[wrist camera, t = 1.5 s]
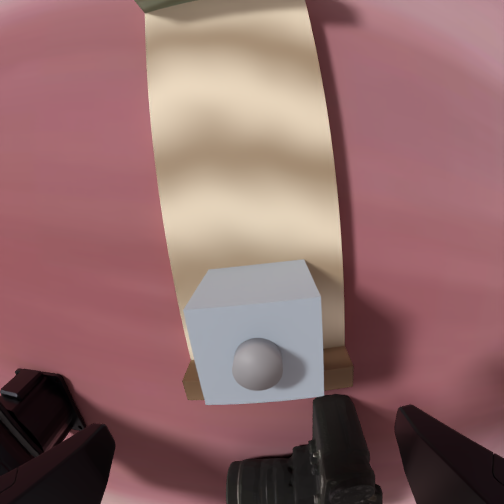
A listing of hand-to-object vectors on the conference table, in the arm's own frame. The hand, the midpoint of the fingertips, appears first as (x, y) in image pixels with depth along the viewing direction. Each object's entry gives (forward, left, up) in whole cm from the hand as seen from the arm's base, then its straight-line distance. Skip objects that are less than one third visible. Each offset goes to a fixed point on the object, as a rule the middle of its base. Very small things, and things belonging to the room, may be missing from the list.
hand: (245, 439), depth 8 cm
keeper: (0, 0, -11) cm, 11 cm away
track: (+8, 0, -12) cm, 14 cm away
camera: (-15, -1, -12) cm, 20 cm away
